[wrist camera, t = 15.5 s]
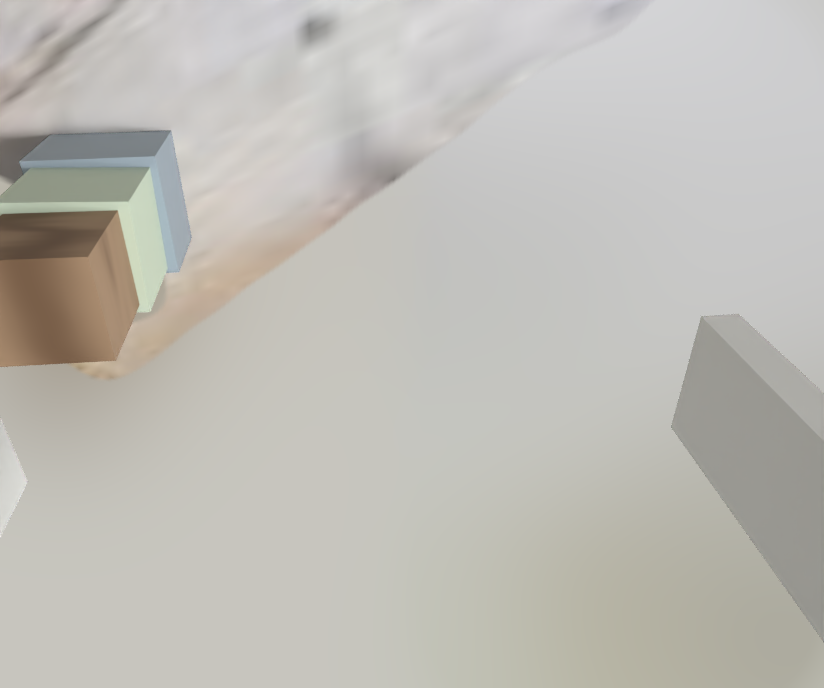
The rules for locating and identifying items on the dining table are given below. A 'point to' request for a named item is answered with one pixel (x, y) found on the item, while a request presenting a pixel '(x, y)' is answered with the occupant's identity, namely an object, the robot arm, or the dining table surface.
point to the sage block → (102, 193)
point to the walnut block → (64, 288)
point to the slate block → (127, 152)
